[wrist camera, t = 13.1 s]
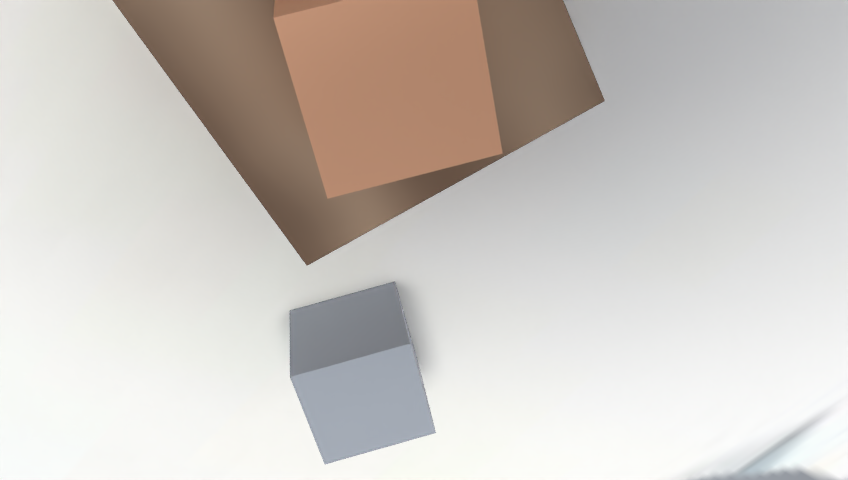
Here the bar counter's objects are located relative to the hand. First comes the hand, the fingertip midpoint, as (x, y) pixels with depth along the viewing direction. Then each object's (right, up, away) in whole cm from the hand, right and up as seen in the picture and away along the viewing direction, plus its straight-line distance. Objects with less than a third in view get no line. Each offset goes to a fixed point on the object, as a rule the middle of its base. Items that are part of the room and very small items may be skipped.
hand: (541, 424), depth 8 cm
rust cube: (-3, +8, +16) cm, 18 cm away
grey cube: (-4, -3, +28) cm, 29 cm away
